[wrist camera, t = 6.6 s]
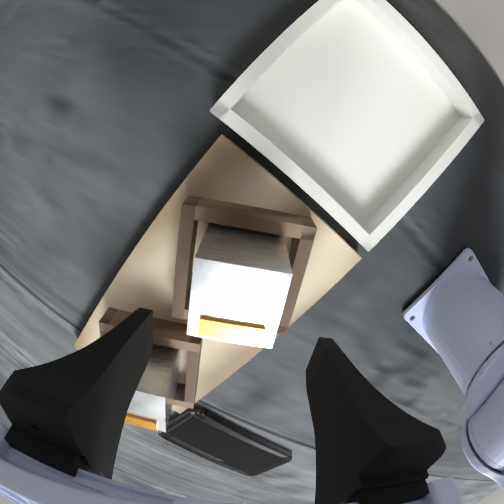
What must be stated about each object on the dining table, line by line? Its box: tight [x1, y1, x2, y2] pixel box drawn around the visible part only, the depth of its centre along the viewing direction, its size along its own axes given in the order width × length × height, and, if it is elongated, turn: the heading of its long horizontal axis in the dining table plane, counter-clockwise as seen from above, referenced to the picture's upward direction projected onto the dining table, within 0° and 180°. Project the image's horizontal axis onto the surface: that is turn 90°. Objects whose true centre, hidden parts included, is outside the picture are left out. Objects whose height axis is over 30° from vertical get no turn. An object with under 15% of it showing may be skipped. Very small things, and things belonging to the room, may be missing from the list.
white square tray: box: [209, 0, 485, 252], centre depth 16 cm, size 13×13×2 cm
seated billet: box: [124, 344, 181, 432], centre depth 21 cm, size 4×4×6 cm
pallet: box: [74, 134, 362, 414], centre depth 22 cm, size 12×22×3 cm, turn 139°
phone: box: [158, 407, 292, 476], centre depth 31 cm, size 8×1×15 cm
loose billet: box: [187, 223, 293, 348], centre depth 17 cm, size 4×4×6 cm
